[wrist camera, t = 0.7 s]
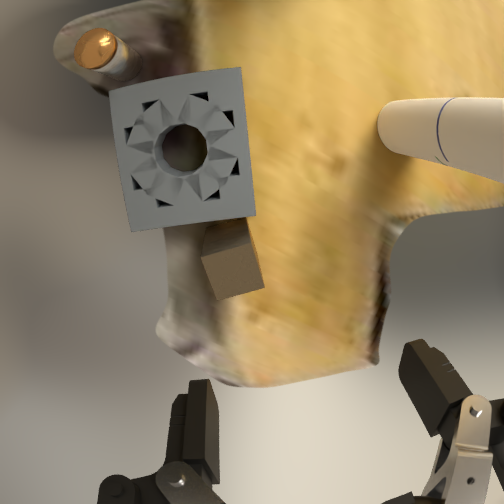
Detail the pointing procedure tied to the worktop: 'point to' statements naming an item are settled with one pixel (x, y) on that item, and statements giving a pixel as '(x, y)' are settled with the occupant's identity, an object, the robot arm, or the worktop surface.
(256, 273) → the square bit
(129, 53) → the cylinder
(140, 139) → the socket block
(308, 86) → the worktop surface
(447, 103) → the cylindrical container
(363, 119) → the worktop surface
